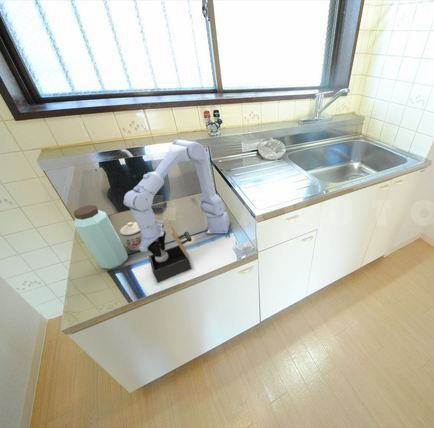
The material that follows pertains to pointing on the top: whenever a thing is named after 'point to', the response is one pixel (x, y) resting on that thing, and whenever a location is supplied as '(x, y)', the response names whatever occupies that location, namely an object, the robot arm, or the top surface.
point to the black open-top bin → (170, 264)
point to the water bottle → (100, 237)
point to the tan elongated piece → (177, 238)
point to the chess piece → (163, 256)
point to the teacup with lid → (132, 235)
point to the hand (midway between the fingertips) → (160, 252)
